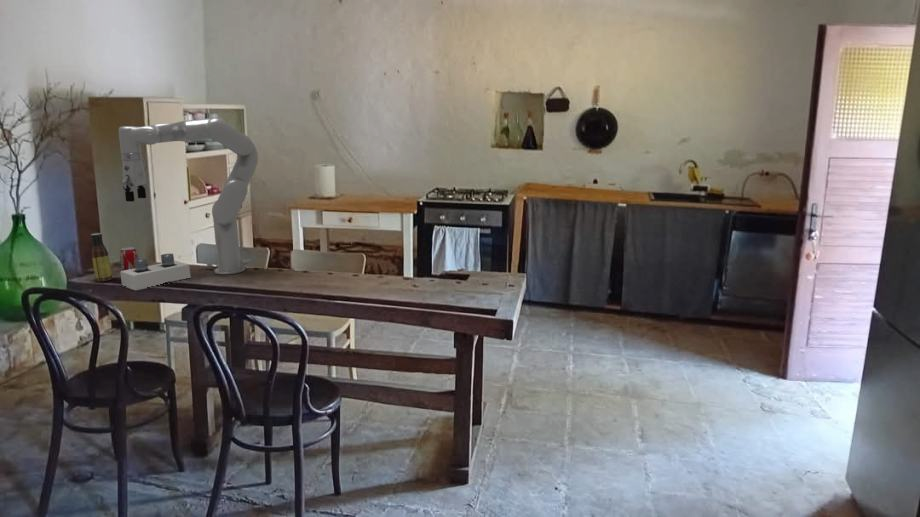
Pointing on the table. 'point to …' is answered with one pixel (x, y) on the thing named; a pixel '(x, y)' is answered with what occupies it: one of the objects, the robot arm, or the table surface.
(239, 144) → the robot arm
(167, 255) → the inner pin
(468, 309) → the table surface
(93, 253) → the sauce bottle
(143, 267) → the outer pin
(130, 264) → the soda can
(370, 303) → the table surface
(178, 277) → the pin block
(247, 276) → the table surface
